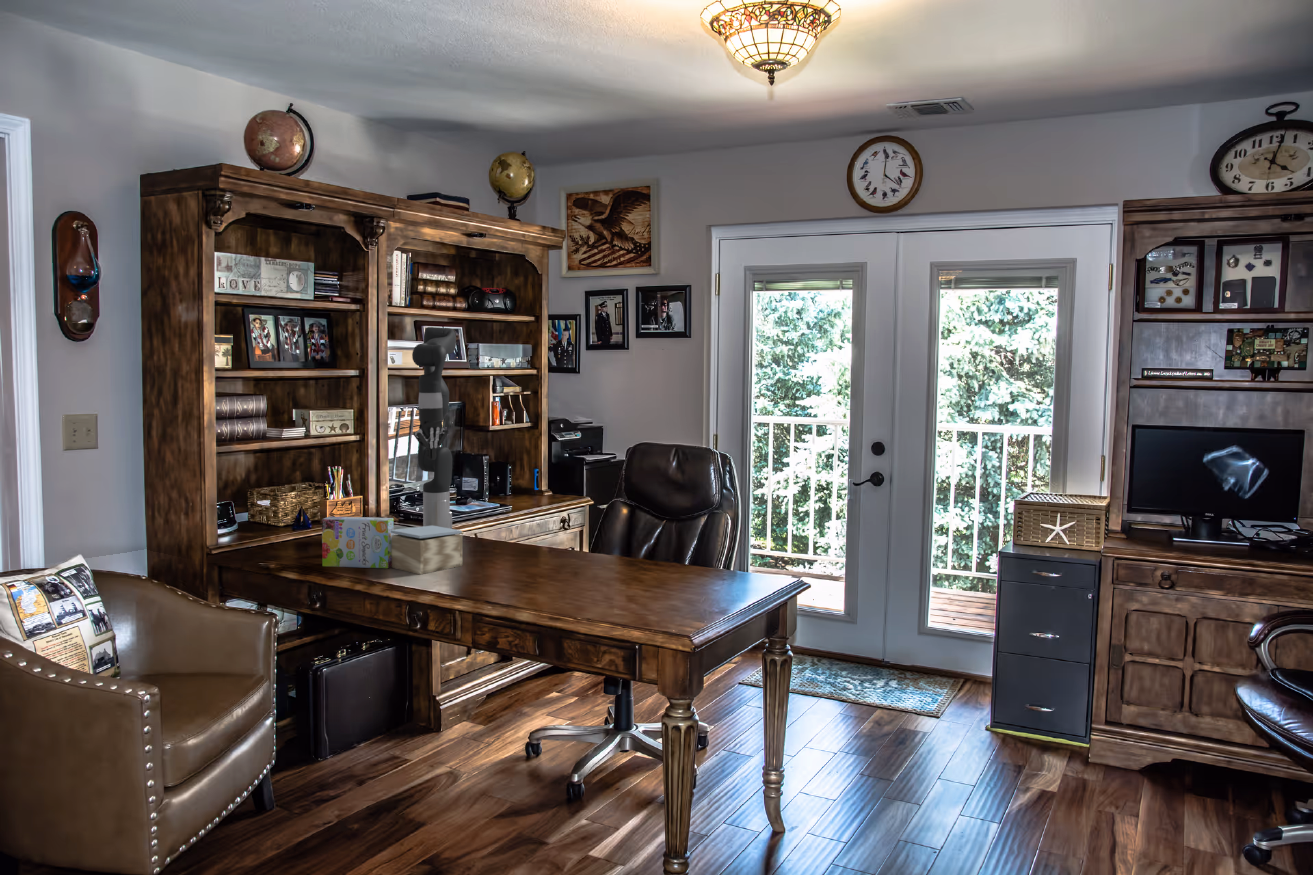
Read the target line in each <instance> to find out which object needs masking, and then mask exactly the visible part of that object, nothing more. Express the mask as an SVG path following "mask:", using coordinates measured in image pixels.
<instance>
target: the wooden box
mask: <svg viewBox="0 0 1313 875" xmlns="http://www.w3.org/2000/svg"><path fill="white" fill-rule="evenodd" d="M391 540H392V566H391V568H392V569H395V570H396V569H397V570H400V571H404V572H407V573H413V574H417V575H424V574H425V575H426V574H429V573H435V572H440V571H444V569H445V570H450V569H453V568H454V567H455V568H460V567H463V566H464V565H463V535H462V534H452V535H444V536H436V537H428V538H415V537H409V536H404V535H399V534H394V535H392V536H391Z"/></svg>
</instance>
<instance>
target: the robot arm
mask: <svg viewBox="0 0 1313 875" xmlns="http://www.w3.org/2000/svg"><path fill="white" fill-rule="evenodd" d="M456 346H457V335H456V331H454V329H452V328H450V327H449V328H448V327H436V326H435V327H432V326H431V327H430V326H428V327H426V328H425V329H424V332H423V343H418V344H416V346H414V347H413V349H412V353H411V355H412V356H411V358H412V361H413V363H414V364H415V365H417V366H418V367H423V374H421V375H419V377H418V387H419V388H418V391H419V392H418V421H419V426H418V430H417V431H414V432H413V434H412V435H413V436H414V438H415V439H416V440H417V442H418V443H419V444H418V451H417V463H418V467H419V468H420V470H421V471H423V472H428V473H429V472H430V473H433V478H432V479H431V480H429V481H427V482H425V483H423V486H422V498H423V499H422V500H423V501H422V505H423V506H422V509H423V510H422V511H423V512H422V514H423V516H422V518H423V520H422V521H423V522H422V525H423V526H432V525H433V526H439V527H444V528H450V529H453V513H452V511H451V508H450V506H451V502H450V500H451V499H450V498H451V496H450V495H451V494H450V492H451V491H450V490H451V488H450V487H451V484H452V478H453V477H452V476H453V455H452V451H451V449H450V448H448V447H446V446H442V445H443V443H444V441H445V439H446V438H447V436H448V434H449V430H448V429H445V428H444V426H443V422H444V420H445V418H446V416H447V414H448V412H449V408H450V391H449V388H448V386H447V384H446V382H445V381H444V378H443V377H442V376H443V370H444V366H445V363H446V359H447V355H450V354H452V353H454V352H455V350H456ZM423 526H422V527H423Z"/></svg>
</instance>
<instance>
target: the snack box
mask: <svg viewBox="0 0 1313 875" xmlns="http://www.w3.org/2000/svg"><path fill="white" fill-rule="evenodd" d="M394 520H395V519H394V517H371V516H370V517H368V516H367V517H365V516H364V517H363V516H360V517H359V516H354V517H353V516H327V517H325V518H322V519H321V546H322V547H321V551H322V552H321V555H322V560H321V561H322V562H321V563H322V565H321V566H322V567H330V568H331V567H334V568H335V567H336V568H337V567H338V568H339V567H340V568H359V569H360V568H365V569H366V568H370V569H388V568H392V540H391V536H392V535H395V534H394V533H391V530H395V528H394V527H395V526H394V525H395V524H394Z"/></svg>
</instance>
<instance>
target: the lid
mask: <svg viewBox="0 0 1313 875" xmlns="http://www.w3.org/2000/svg"><path fill="white" fill-rule="evenodd" d="M391 533H394V535H398V534H399V535H404V536H409V537H415V538H428V537H436V536H444V535H452V534H460V535H461V536H463V535H464V531H462V530H460V529H454V528H452V529H450V528H444V527H439V526H433V525H432V526H417V527H416V526H415V527H408V528H406V527H405V528H399V529H397V528H396V529H394V530H391Z"/></svg>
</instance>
